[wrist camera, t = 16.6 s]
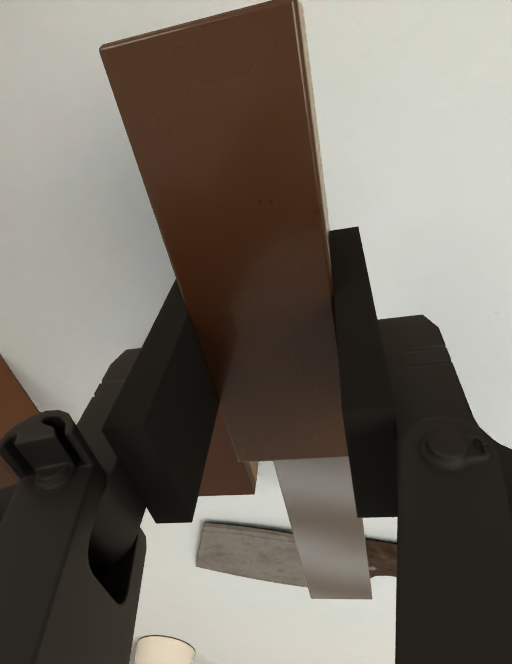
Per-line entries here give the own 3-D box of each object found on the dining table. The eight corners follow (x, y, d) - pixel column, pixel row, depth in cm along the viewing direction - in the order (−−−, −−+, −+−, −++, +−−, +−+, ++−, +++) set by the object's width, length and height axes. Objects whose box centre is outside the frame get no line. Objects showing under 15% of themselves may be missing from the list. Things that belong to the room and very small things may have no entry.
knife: (159, 37, 10) (94, 45, 7) (302, 1, 9) (296, -6, 6) (308, 586, 23) (308, 669, 20) (373, 587, 22) (382, 672, 19)
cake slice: (169, 332, 28) (146, 386, 24) (230, 325, 28) (216, 380, 24) (210, 438, 34) (196, 496, 30) (261, 435, 33) (254, 494, 29)
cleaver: (530, 555, 39) (539, 580, 37) (491, 605, 44) (498, 629, 43) (192, 513, 41) (186, 535, 39) (197, 566, 46) (192, 588, 45)
